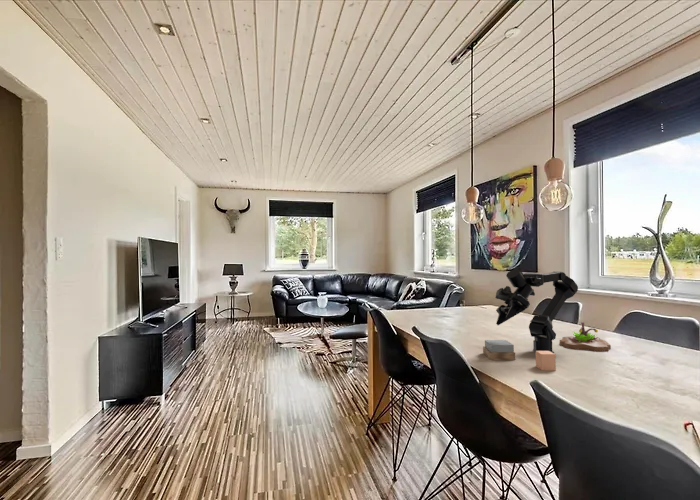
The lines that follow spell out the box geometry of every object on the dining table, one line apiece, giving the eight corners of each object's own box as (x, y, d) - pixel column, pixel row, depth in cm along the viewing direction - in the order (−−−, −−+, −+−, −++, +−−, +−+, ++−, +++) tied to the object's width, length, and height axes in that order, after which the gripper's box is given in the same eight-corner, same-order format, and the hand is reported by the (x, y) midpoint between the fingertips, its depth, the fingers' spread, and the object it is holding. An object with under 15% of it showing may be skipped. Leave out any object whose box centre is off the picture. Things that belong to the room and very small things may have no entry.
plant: (608, 344, 170) (607, 320, 171) (612, 353, 154) (611, 327, 154) (560, 339, 181) (559, 317, 181) (558, 348, 165) (558, 323, 165)
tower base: (506, 354, 156) (506, 346, 156) (515, 361, 146) (515, 352, 146) (483, 354, 156) (483, 346, 157) (490, 360, 146) (490, 352, 147)
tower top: (506, 346, 155) (505, 340, 155) (513, 352, 146) (513, 345, 146) (484, 346, 156) (484, 339, 156) (491, 352, 147) (491, 344, 147)
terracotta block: (549, 366, 137) (548, 350, 137) (555, 370, 132) (555, 354, 132) (536, 366, 137) (535, 350, 137) (542, 370, 132) (541, 354, 132)
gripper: (495, 290, 162) (477, 315, 157) (514, 275, 146) (494, 302, 140) (516, 306, 159) (498, 332, 154) (538, 292, 143) (519, 320, 137)
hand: (501, 321), depth 146 cm, fingers open, 9 cm apart
